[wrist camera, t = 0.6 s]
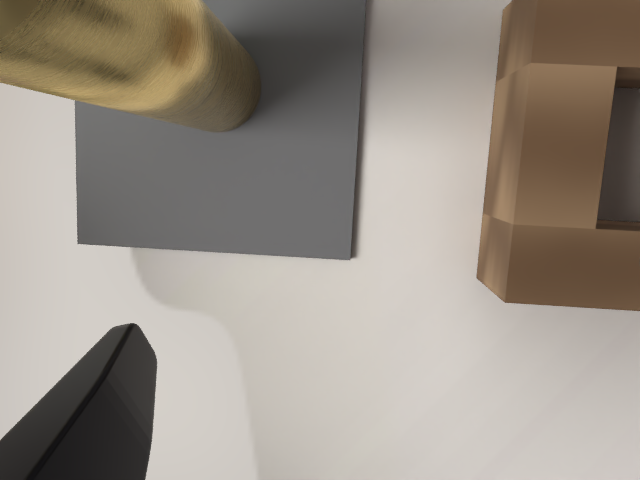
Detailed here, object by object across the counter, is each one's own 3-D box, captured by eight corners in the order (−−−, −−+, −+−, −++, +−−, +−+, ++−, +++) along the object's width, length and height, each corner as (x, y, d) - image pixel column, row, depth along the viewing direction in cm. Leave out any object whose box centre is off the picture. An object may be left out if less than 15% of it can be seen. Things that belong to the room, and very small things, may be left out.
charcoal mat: (350, 258, 22) (350, 259, 22) (81, 242, 23) (77, 243, 22) (368, -35, 20) (368, -38, 20) (75, -46, 21) (72, -49, 21)
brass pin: (259, 134, 21) (64, 67, 7) (170, 130, 22) (-217, 55, 7) (262, 39, 21) (56, -268, 6) (171, 36, 21) (-251, -273, 6)
